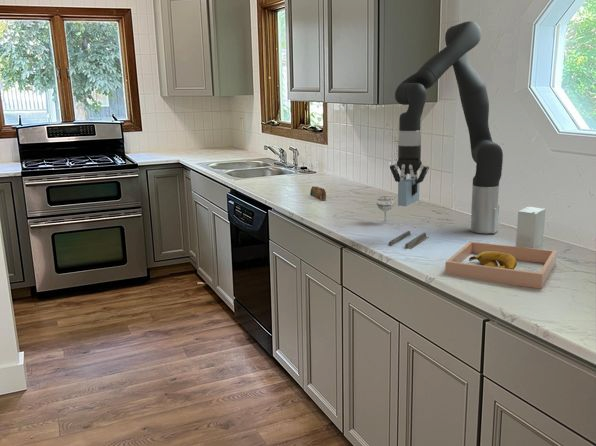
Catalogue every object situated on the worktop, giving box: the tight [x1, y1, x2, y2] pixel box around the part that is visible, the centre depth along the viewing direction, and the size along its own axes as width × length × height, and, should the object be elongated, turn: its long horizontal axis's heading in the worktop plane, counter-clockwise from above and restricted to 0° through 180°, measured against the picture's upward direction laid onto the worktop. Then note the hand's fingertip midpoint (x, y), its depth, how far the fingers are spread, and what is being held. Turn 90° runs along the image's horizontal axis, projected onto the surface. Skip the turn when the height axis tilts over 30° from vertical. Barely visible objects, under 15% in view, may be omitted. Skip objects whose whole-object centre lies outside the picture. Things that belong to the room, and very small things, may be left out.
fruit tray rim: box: [444, 241, 558, 289], centre depth 169 cm, size 26×26×4 cm
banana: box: [468, 251, 518, 270], centre depth 167 cm, size 15×19×6 cm
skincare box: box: [515, 206, 546, 249], centre depth 182 cm, size 8×6×15 cm
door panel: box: [397, 177, 420, 207], centre depth 196 cm, size 3×12×8 cm, turn 148°
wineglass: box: [376, 195, 395, 225], centre depth 224 cm, size 7×7×12 cm
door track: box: [388, 230, 429, 250], centre depth 199 cm, size 9×18×2 cm, turn 149°
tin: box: [309, 186, 327, 202], centre depth 277 cm, size 15×3×8 cm, turn 19°
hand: (408, 194), depth 196 cm, fingers closed on door panel, 3 cm apart
